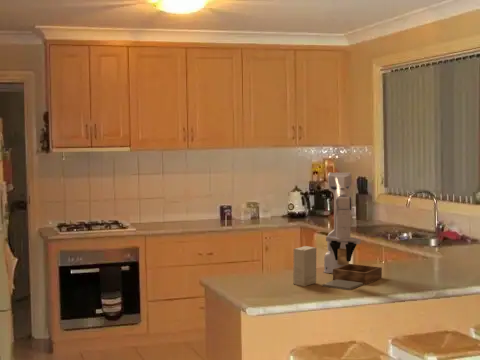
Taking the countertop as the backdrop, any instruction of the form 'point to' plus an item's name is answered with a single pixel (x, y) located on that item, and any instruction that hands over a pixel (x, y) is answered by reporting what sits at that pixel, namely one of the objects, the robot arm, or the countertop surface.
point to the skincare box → (304, 266)
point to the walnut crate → (357, 273)
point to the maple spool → (342, 257)
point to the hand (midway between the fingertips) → (343, 260)
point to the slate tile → (342, 284)
